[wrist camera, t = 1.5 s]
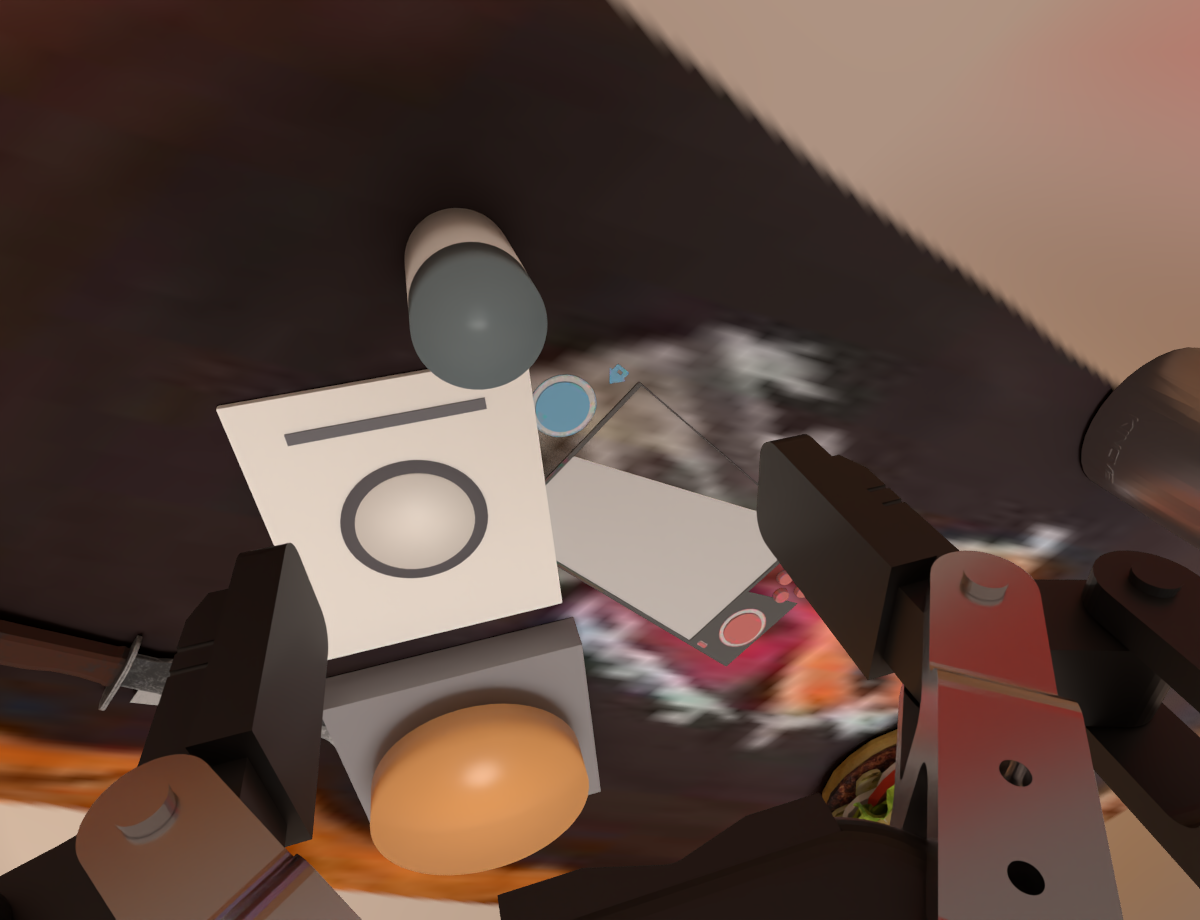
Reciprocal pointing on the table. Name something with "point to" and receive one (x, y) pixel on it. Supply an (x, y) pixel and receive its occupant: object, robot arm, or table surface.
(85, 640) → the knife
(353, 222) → the table surface
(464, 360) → the beige capped tube
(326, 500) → the paper
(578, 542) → the gaming console
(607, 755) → the table surface
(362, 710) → the button base
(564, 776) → the button
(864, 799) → the food
